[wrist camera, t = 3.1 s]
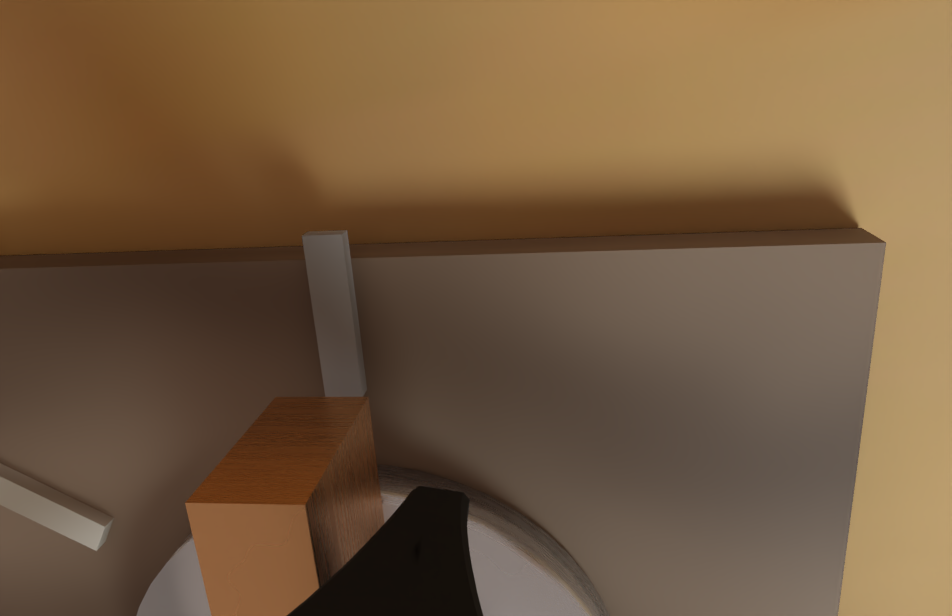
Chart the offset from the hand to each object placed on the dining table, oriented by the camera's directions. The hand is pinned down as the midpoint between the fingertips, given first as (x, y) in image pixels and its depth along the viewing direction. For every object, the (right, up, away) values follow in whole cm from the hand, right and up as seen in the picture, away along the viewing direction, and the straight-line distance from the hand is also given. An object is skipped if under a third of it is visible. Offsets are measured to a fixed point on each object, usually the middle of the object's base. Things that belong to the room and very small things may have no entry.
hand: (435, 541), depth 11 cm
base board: (-1, -4, +5) cm, 6 cm away
